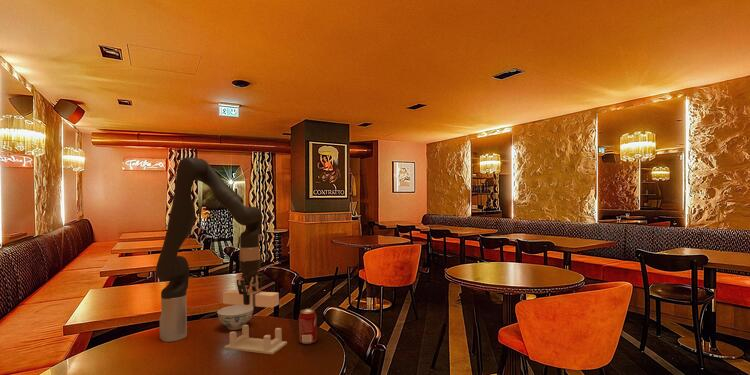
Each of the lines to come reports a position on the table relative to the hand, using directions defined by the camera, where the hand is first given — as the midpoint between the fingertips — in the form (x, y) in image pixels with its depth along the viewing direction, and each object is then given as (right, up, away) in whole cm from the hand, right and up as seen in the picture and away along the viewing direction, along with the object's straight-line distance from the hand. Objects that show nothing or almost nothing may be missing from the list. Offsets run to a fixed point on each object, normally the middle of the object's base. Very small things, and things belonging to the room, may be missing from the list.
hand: (250, 302), depth 146 cm
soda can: (+22, -16, +2) cm, 27 cm away
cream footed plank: (+2, -16, -1) cm, 17 cm away
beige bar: (0, -1, 0) cm, 1 cm away
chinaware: (-13, -17, +21) cm, 30 cm away
